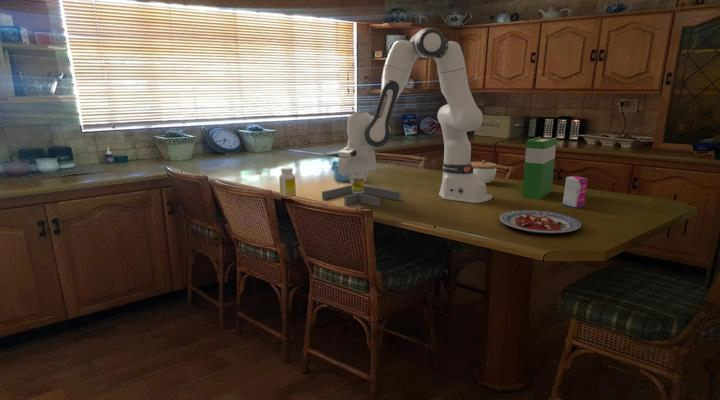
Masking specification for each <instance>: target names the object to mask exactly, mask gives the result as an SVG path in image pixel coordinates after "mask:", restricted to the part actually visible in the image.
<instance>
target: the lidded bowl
mask: <svg viewBox="0 0 720 400" xmlns="http://www.w3.org/2000/svg"><path fill="white" fill-rule="evenodd" d="M470 163H471V165H472V166H476V167H474V168H475V169H473V171H474V172H473V173H475V174H476V175H477V176H478V177H479V178H480V179H481V180H482V181H483V182H484V183H489V184H490V183H491V182H492V181H493V180H494V179H495V177H496V173H497V167H498V165H497V163H494V162H488V161H486V160H485V159H482V160H481V161H473V162H470Z"/></svg>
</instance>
